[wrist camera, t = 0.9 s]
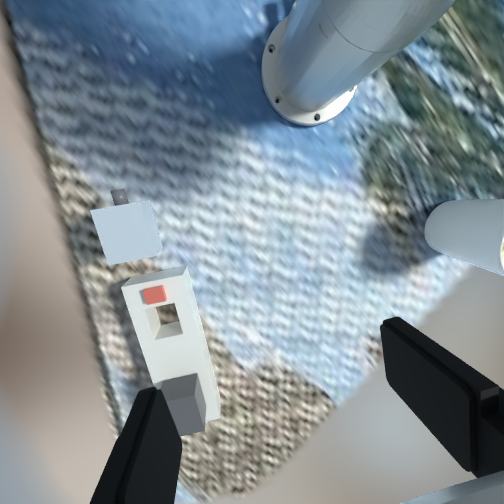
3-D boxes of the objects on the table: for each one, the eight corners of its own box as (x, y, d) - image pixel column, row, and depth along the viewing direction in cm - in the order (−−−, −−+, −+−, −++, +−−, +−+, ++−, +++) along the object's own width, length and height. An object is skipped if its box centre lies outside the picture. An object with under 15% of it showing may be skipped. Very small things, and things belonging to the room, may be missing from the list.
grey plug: (117, 193, 33) (84, 194, 25) (155, 186, 34) (134, 185, 26) (134, 248, 35) (108, 265, 27) (169, 241, 36) (154, 256, 28)
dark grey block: (168, 361, 40) (155, 404, 32) (199, 354, 41) (194, 395, 33) (180, 399, 42) (170, 448, 34) (210, 392, 42) (207, 439, 35)
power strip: (131, 276, 36) (118, 289, 32) (187, 265, 37) (181, 276, 32) (173, 408, 42) (167, 435, 38) (220, 397, 43) (220, 422, 38)
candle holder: (425, 265, 41) (504, 296, 30) (413, 210, 39) (494, 219, 27) (480, 242, 41) (580, 262, 30) (471, 184, 39) (577, 183, 27)
